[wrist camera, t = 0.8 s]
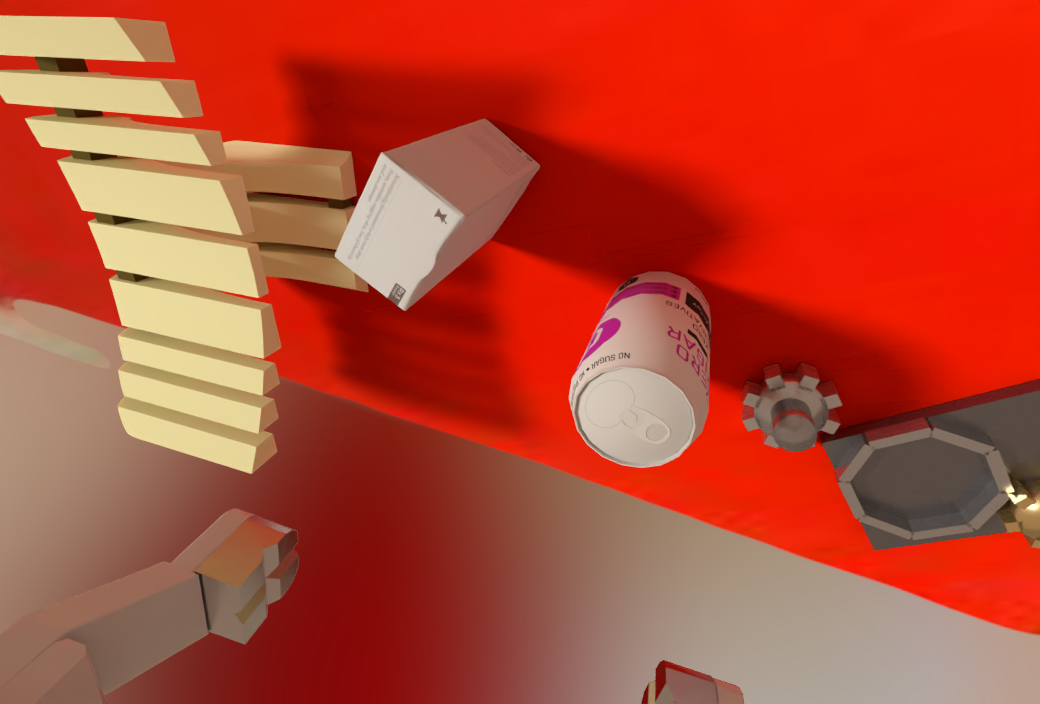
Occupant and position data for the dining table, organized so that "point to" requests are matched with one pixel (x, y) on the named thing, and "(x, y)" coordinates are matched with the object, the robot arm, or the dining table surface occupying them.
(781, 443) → the planet gear
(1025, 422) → the carrier board
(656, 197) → the dining table surface
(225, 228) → the slatted curved stool
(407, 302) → the skincare box
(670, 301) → the supplement can
